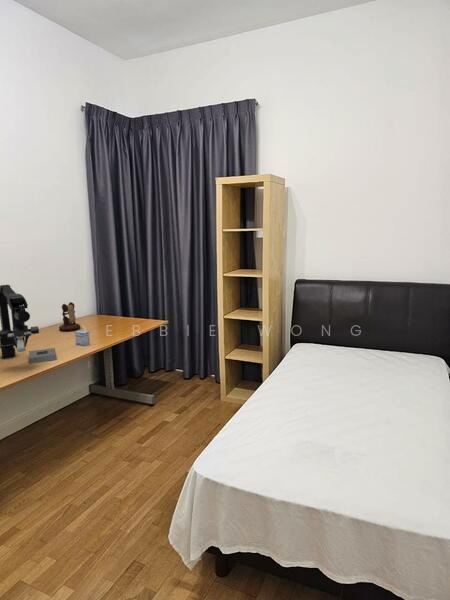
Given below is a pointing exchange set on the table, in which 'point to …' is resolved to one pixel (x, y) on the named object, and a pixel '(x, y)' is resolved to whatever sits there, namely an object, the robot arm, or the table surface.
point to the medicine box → (82, 338)
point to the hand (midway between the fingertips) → (21, 347)
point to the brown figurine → (69, 322)
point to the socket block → (42, 355)
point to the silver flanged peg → (20, 343)
